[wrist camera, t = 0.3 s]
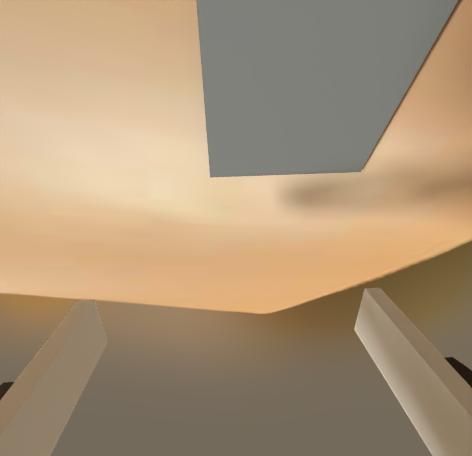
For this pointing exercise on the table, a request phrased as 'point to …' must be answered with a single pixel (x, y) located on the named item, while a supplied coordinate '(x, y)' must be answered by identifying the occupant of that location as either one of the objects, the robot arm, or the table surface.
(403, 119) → the table surface
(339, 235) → the table surface
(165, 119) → the table surface
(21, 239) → the table surface
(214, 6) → the slate mat
